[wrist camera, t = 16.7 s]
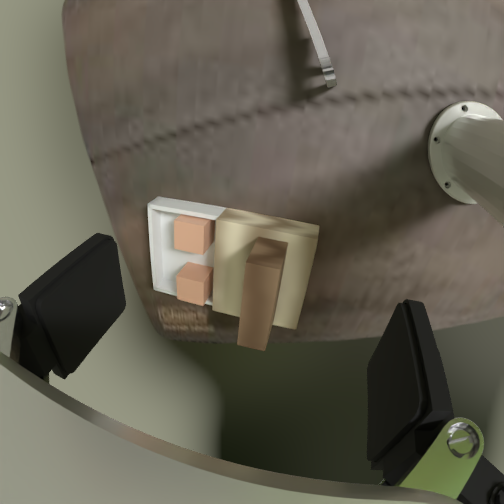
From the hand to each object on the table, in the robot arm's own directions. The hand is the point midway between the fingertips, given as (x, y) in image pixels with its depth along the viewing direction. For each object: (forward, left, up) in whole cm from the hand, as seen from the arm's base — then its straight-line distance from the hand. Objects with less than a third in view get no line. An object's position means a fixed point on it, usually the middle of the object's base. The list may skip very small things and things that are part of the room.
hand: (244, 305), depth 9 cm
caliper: (+2, -17, -29) cm, 34 cm away
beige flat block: (+3, +16, -28) cm, 33 cm away
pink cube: (+10, +12, -26) cm, 30 cm away
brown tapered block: (+2, +16, -24) cm, 29 cm away
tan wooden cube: (+10, +20, -26) cm, 34 cm away
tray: (+14, +16, -28) cm, 35 cm away
